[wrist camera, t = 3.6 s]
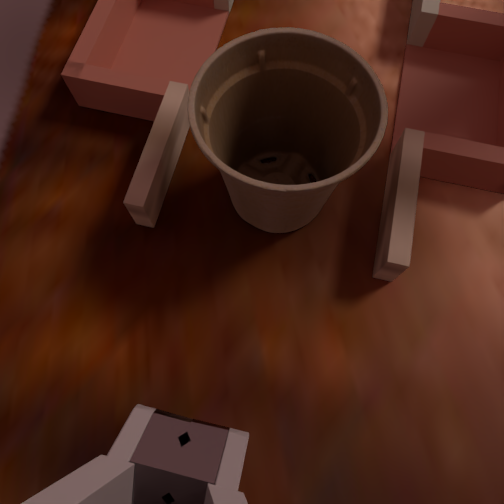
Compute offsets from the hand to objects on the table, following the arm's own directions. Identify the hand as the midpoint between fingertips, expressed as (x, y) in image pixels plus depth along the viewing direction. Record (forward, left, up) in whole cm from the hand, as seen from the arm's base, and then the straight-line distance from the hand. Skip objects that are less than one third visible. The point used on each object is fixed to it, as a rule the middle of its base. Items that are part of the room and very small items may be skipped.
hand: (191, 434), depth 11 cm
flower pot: (-12, -8, -13) cm, 19 cm away
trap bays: (-20, -13, -13) cm, 27 cm away
